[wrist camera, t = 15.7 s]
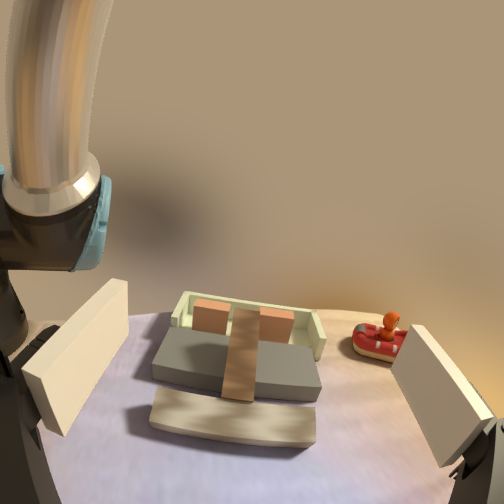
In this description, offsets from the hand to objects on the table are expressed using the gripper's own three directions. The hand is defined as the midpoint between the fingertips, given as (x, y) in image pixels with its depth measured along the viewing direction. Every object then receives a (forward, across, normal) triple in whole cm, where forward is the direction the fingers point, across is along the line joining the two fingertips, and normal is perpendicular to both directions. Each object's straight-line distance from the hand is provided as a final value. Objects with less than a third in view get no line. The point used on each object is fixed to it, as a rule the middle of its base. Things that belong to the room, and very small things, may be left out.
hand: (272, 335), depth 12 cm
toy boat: (+28, +24, -19) cm, 41 cm away
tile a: (+25, -5, -16) cm, 30 cm away
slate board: (+19, 0, -19) cm, 27 cm away
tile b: (+26, +4, -16) cm, 31 cm away
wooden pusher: (+7, 0, -18) cm, 19 cm away
